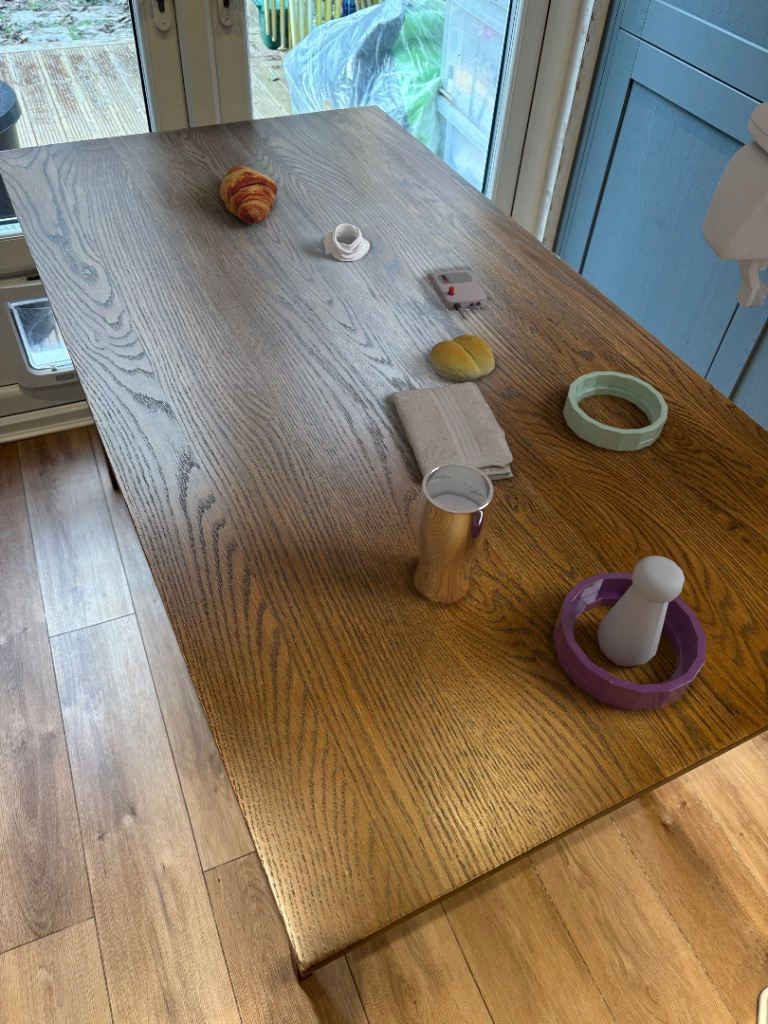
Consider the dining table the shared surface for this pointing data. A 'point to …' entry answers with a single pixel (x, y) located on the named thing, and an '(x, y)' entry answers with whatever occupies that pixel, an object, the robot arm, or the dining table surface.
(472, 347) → the bread roll
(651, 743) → the dining table surface
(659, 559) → the grey pawn peg
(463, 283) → the grey electronic control box
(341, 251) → the white ruffled cup
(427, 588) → the shiny metal tumbler
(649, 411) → the green faceted bangle
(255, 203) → the croissant
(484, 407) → the washcloth
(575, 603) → the purple bangle bracelet
